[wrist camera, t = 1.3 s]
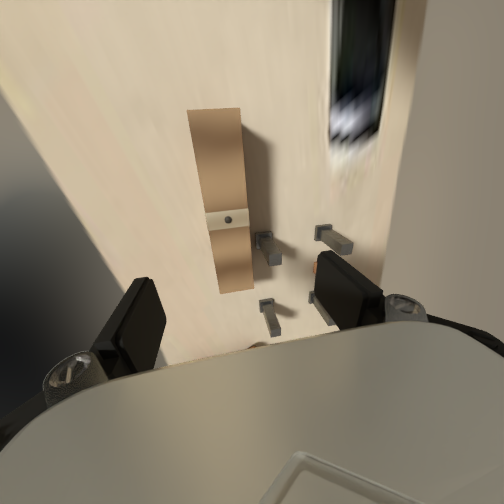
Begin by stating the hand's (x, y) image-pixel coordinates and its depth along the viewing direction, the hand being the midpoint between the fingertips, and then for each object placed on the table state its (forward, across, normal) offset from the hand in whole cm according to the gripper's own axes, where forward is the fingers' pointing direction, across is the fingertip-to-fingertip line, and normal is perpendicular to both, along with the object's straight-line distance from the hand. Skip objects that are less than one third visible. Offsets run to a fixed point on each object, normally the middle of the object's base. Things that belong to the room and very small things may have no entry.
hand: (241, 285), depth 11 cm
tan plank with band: (+18, 0, 0) cm, 18 cm away
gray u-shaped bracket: (+18, -10, +5) cm, 21 cm away
